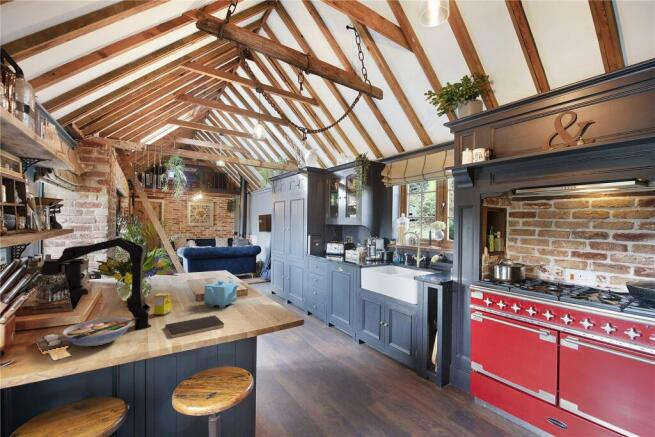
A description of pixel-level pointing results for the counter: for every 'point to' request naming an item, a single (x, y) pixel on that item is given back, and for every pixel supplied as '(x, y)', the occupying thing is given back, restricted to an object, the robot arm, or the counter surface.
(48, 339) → the button
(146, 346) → the counter surface
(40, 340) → the button board
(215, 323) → the hardcover book
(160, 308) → the supplement box
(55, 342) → the button
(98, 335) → the ramen bowl
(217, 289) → the teakettle
